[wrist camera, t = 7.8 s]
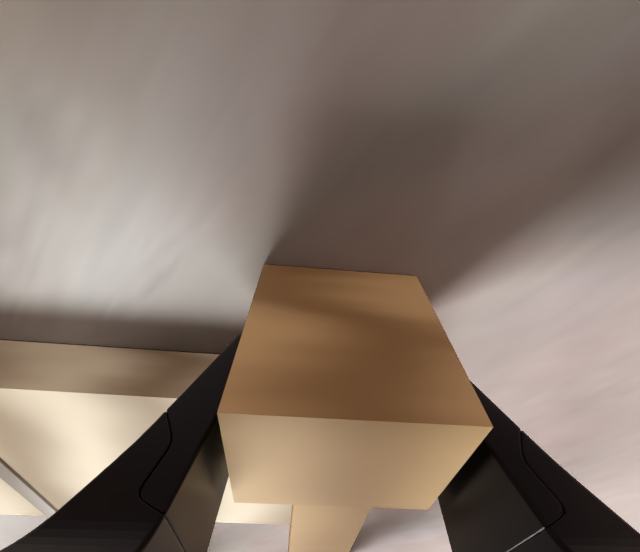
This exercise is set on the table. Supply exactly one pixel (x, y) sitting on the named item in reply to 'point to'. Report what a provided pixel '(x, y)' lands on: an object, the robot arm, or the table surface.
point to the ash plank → (88, 420)
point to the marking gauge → (344, 402)
